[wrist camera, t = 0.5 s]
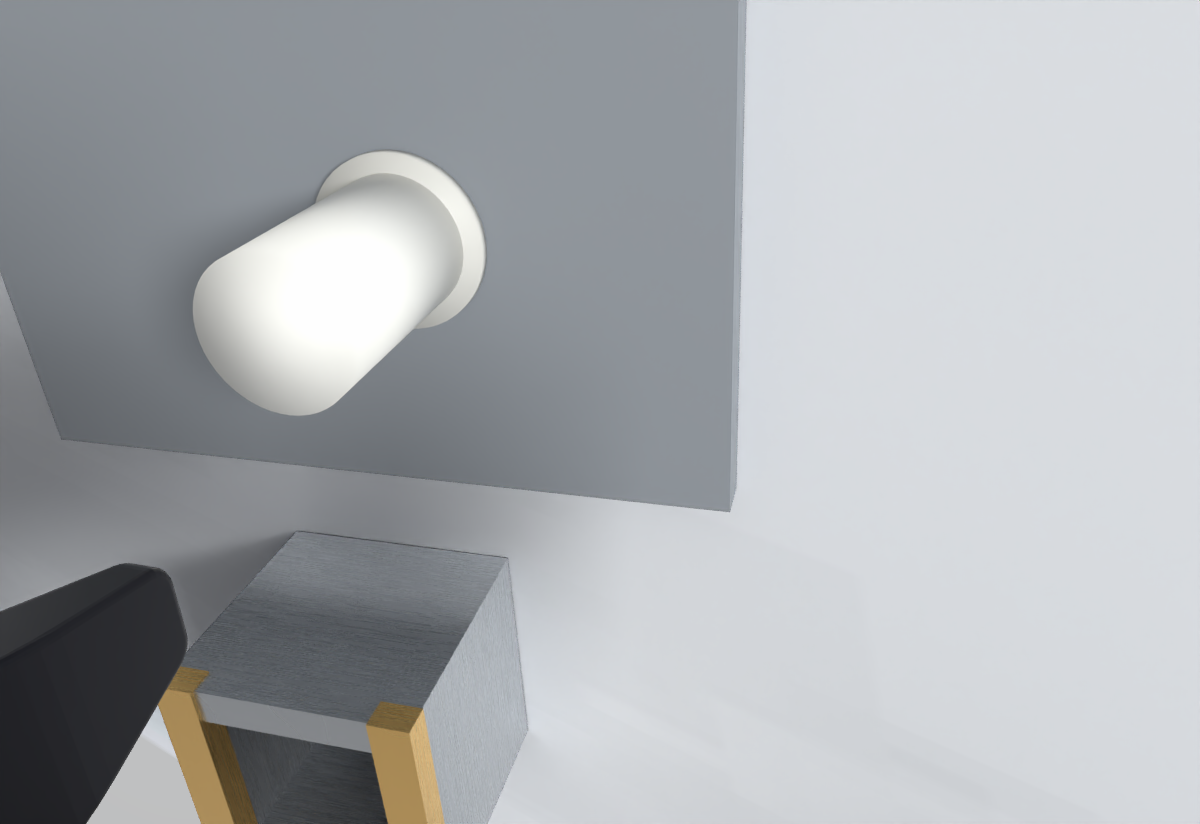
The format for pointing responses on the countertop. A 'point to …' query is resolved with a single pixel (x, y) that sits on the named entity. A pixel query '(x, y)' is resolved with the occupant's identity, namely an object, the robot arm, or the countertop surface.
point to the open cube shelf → (353, 689)
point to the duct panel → (469, 93)
